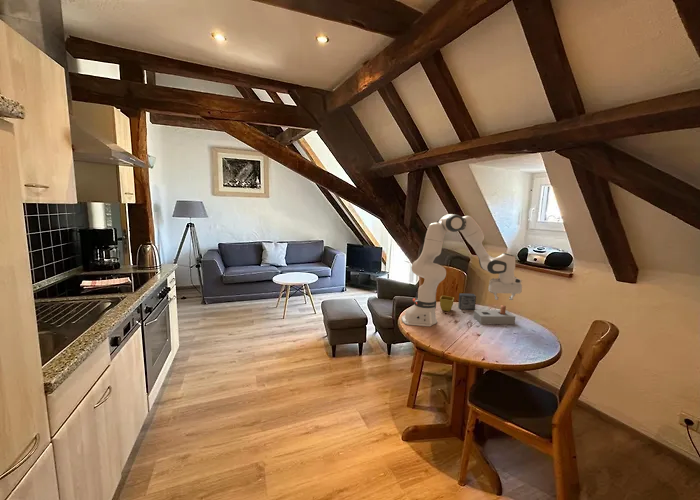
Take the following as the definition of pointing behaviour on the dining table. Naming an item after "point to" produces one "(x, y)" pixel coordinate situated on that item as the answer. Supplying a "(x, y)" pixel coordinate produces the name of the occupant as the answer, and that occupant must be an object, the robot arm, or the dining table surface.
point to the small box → (467, 301)
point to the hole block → (493, 317)
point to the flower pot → (446, 303)
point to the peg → (502, 310)
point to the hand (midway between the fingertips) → (503, 299)
